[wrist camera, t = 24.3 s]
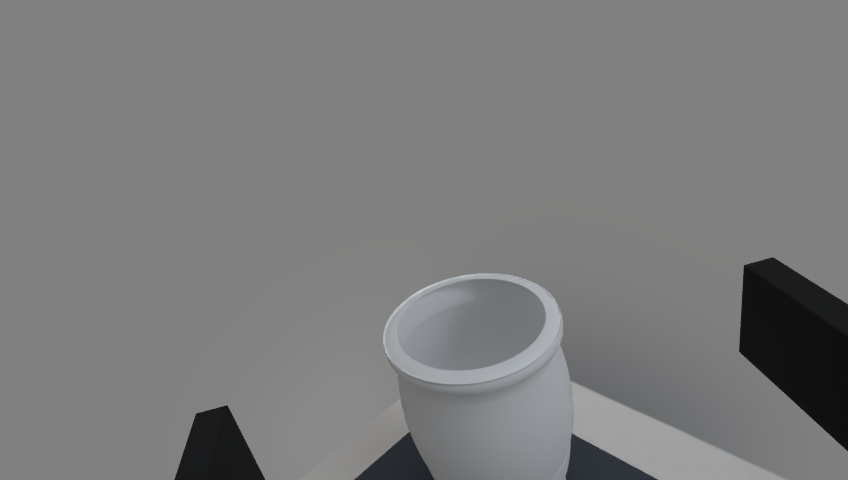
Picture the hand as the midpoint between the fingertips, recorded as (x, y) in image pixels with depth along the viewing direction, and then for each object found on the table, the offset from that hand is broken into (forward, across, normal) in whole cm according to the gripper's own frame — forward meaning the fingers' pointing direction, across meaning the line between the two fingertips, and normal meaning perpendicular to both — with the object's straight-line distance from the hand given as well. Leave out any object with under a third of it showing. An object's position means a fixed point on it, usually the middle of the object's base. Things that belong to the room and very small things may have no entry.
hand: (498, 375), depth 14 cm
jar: (+15, +1, -24) cm, 29 cm away
